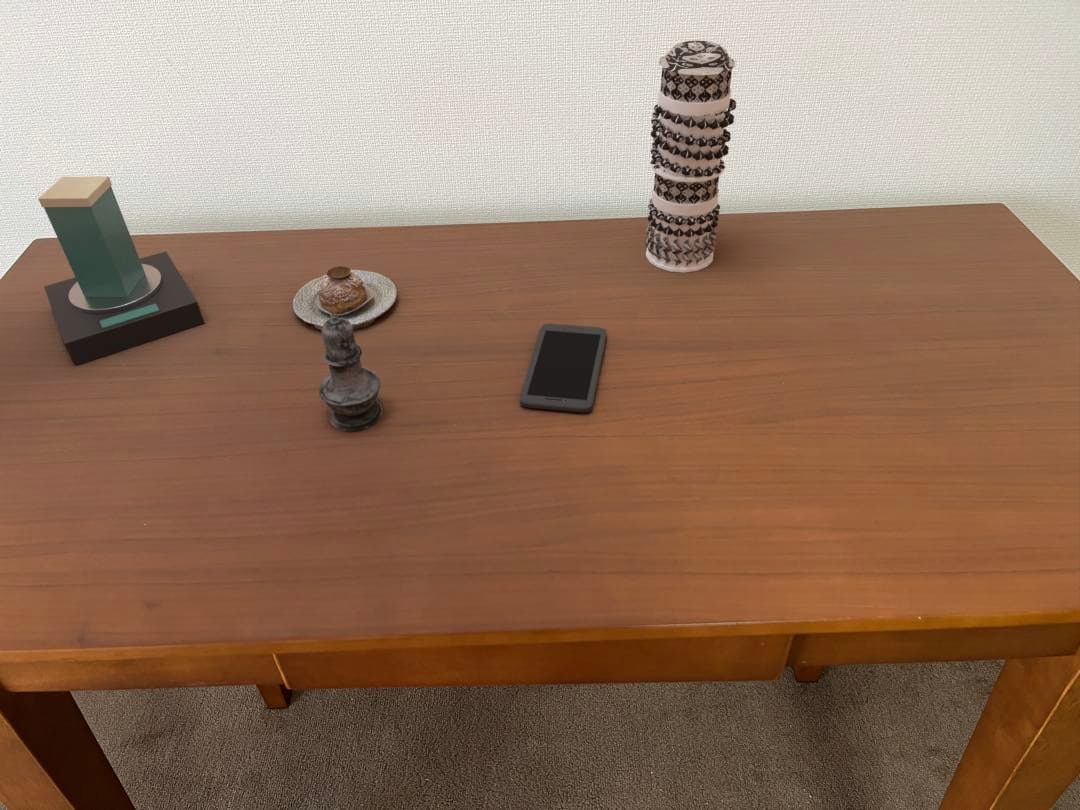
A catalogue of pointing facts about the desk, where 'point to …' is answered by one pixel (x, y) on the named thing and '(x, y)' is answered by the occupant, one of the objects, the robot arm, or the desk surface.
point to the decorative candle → (689, 155)
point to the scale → (125, 316)
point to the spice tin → (93, 235)
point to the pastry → (345, 297)
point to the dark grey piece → (348, 380)
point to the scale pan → (113, 304)
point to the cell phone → (564, 368)
